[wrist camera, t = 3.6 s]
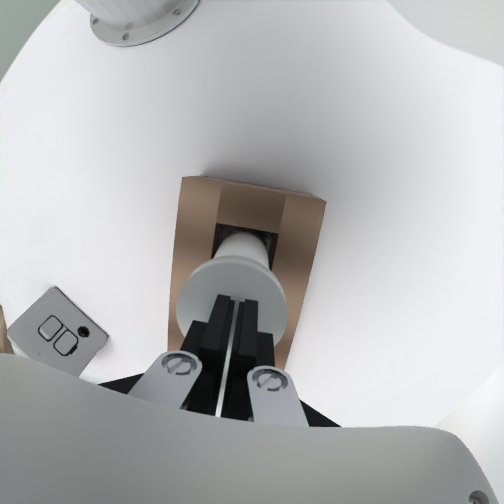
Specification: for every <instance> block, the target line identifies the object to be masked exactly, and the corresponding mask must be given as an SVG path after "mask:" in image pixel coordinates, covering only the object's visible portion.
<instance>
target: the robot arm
mask: <svg viewBox="0 0 504 504" xmlns="http://www.w3.org/2000/svg"><path fill="white" fill-rule="evenodd" d="M75 1H76V2H77V3H79V4H80V5H81V6H83V7H84V8H85V9H86V10H88V11H89V12H90V13H91V15H90V26H91V29H92V31H93V33H94V34H95V35H96V36H97V38H99V39H100V40H101V41H103V42H104V43H107V44H109V45H113V46H120V47H121V46H133V45H138V44H142V43H145V42H148V41H151V40H153V39H155V38H157V37H160V36H162V35H164V34H165V33H167V32H169V31H170V30H172V29H173V28H175V27H176V26H177V25H179V24H180V23H181V22H182V21H184V20H185V18H186V17H187V16H188V15H189V14H190V13H191V12H192V11H193V9H194V8H195V7H196V5H197V4H198V1H199V0H75ZM230 299H231V296H226V295H221V294H218V295H217V298H216V300H215V303H214V306H213V309H212V312H211V315H210V318H209V320H208V323H207V322H201V321H196V320H193V321H192V323H191V325H190V328H189V330H188V332H187V334H186V337H185V339H184V341H183V343H182V346H181V348H180V350H179V351H177V350H173V351H168V352H165V353H163V354H161V355H160V356H159V357H158V358H157V359H156V360H155V362H154V363H153V364H152V365H151V366H150V367H149V369H148V370H147V371H146V372H145V373H142V374H138V375H134V376H131V377H127V378H123V379H118V380H114V381H110V382H106V383H101V384H97V385H96V384H93V383H91V382H88V381H85V380H83V379H80V378H78V377H75V376H73V375H70V374H68V373H65V372H63V371H60V370H58V369H55V368H53V367H50V366H48V365H45V364H43V363H40V362H37V361H35V360H32V359H29V358H25V357H22V356H18V355H12V354H6V353H0V504H499V503H498V501H497V498H496V496H495V494H494V492H493V490H492V488H491V486H490V484H489V482H488V480H487V478H486V476H485V475H484V473H483V471H482V469H481V467H480V466H479V464H478V463H477V461H476V460H475V458H474V457H473V455H472V453H471V452H470V451H469V449H468V448H467V447H466V446H465V444H464V443H463V442H462V441H461V440H460V439H459V438H458V437H457V436H455V435H454V434H452V433H450V432H447V431H444V430H440V429H436V428H431V427H423V426H380V427H341V426H339V425H338V424H336V423H335V422H333V421H331V420H330V419H328V418H327V417H325V416H324V415H322V414H321V413H319V412H318V411H316V410H315V409H313V408H312V407H310V406H309V405H307V404H306V403H304V402H303V401H301V400H300V399H299V397H298V394H297V392H296V389H295V386H294V383H293V381H292V379H291V377H290V375H288V374H287V373H286V372H285V371H283V370H281V369H279V368H276V367H275V356H274V341H273V334H272V333H265V332H259V331H258V301H256V300H250V299H245V302H241V301H240V302H239V307H238V313H237V319H236V325H235V331H234V337H233V342H232V348H231V354H230V360H229V366H228V372H227V378H226V384H225V390H224V397H223V403H222V409H221V415H220V417H216V416H215V415H216V410H217V404H218V399H219V393H220V388H221V382H222V377H223V372H224V366H225V361H226V355H227V349H228V343H229V336H230V330H231V324H232V318H233V312H234V306H235V300H230Z"/></svg>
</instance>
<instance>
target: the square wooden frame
mask: <svg viewBox="0 0 504 504" xmlns="http://www.w3.org/2000/svg"><path fill="white" fill-rule="evenodd" d="M0 353H6V354H12V355H14V354H13V351H12V347H11V344H10V340H9V339H8V337H7V329H6V325H5V321H4V317H3V312H2V308H1V306H0Z"/></svg>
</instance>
